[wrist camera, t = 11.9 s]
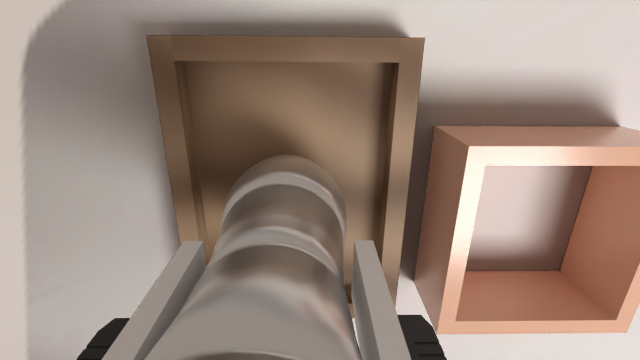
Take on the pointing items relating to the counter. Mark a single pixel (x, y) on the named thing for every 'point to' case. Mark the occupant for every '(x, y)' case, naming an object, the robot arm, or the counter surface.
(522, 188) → the counter surface
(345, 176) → the tray
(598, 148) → the wooden box frame
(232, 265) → the plastic bottle
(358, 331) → the robot arm
